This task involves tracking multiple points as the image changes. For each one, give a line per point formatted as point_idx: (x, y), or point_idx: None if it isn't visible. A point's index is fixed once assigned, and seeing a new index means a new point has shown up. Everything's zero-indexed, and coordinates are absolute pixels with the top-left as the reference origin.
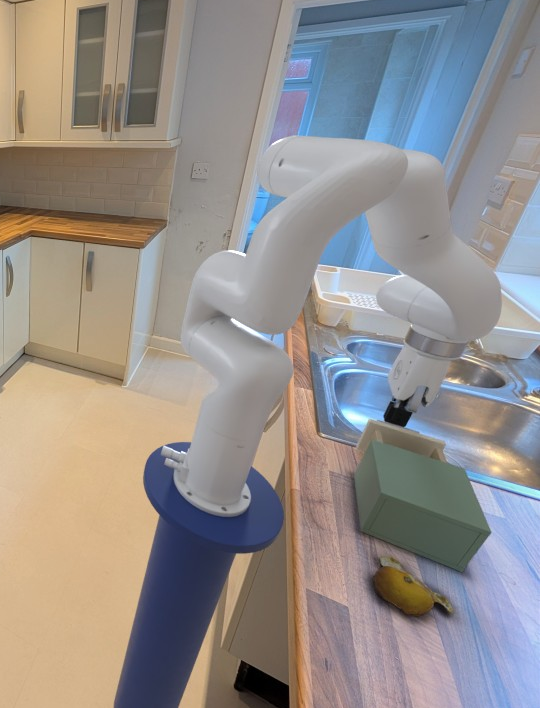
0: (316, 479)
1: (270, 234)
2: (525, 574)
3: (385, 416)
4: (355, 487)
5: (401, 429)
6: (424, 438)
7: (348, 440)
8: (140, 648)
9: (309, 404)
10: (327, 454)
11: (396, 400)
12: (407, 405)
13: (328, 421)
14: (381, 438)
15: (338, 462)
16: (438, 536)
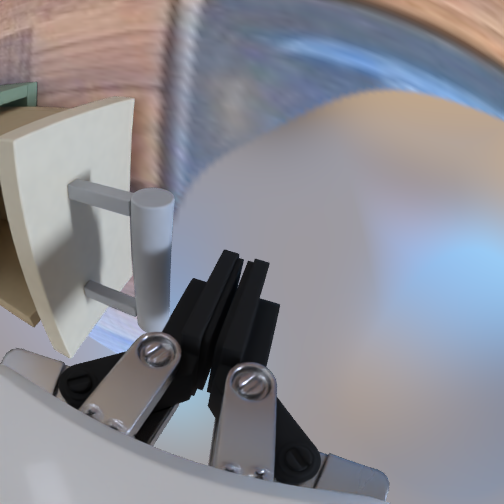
0: (6, 11)
1: None
2: None
3: (225, 265)
4: (7, 84)
5: (29, 263)
6: (39, 312)
7: (195, 85)
8: None
9: (442, 12)
10: (85, 14)
11: (147, 380)
12: (27, 378)
13: (320, 38)
14: None
15: (64, 44)
16: None
